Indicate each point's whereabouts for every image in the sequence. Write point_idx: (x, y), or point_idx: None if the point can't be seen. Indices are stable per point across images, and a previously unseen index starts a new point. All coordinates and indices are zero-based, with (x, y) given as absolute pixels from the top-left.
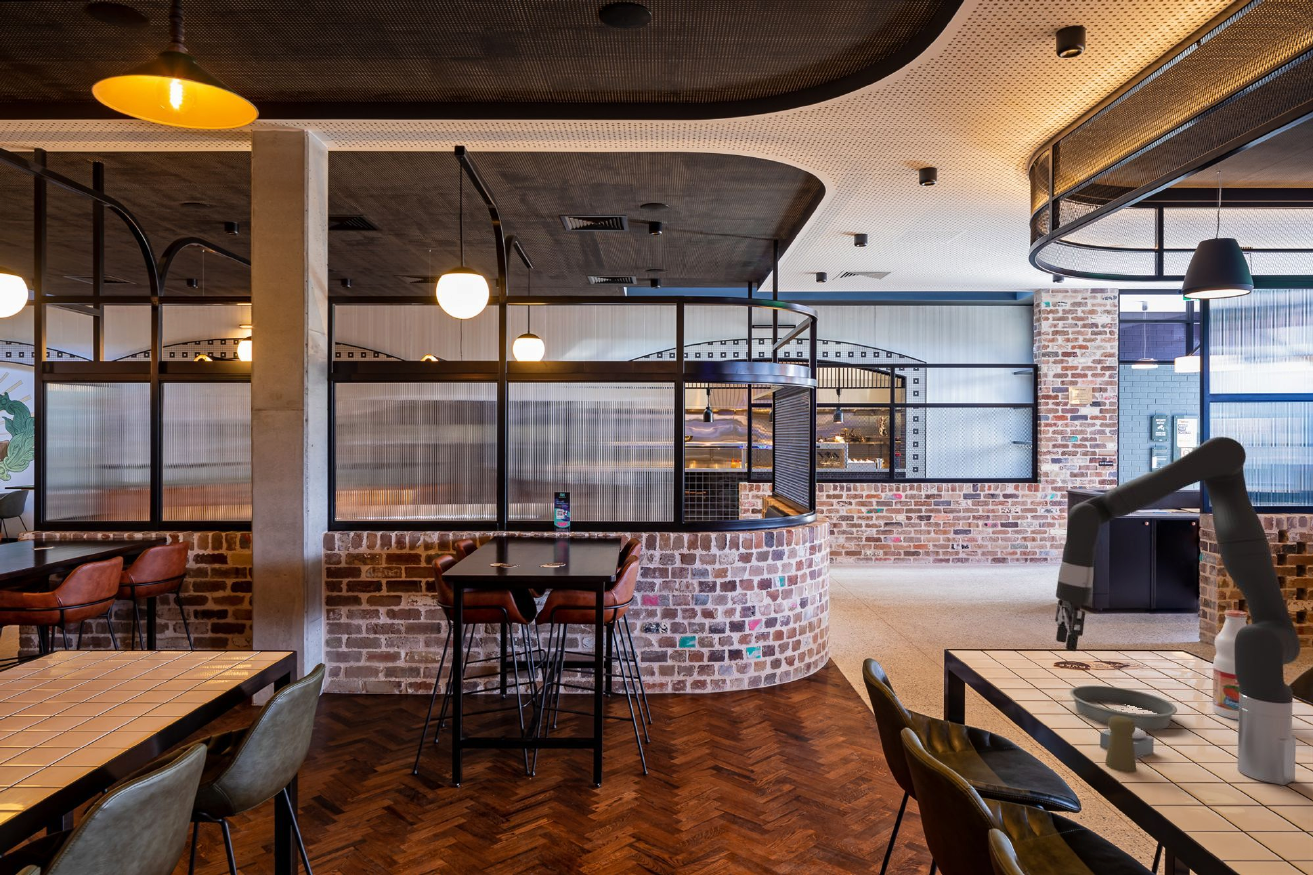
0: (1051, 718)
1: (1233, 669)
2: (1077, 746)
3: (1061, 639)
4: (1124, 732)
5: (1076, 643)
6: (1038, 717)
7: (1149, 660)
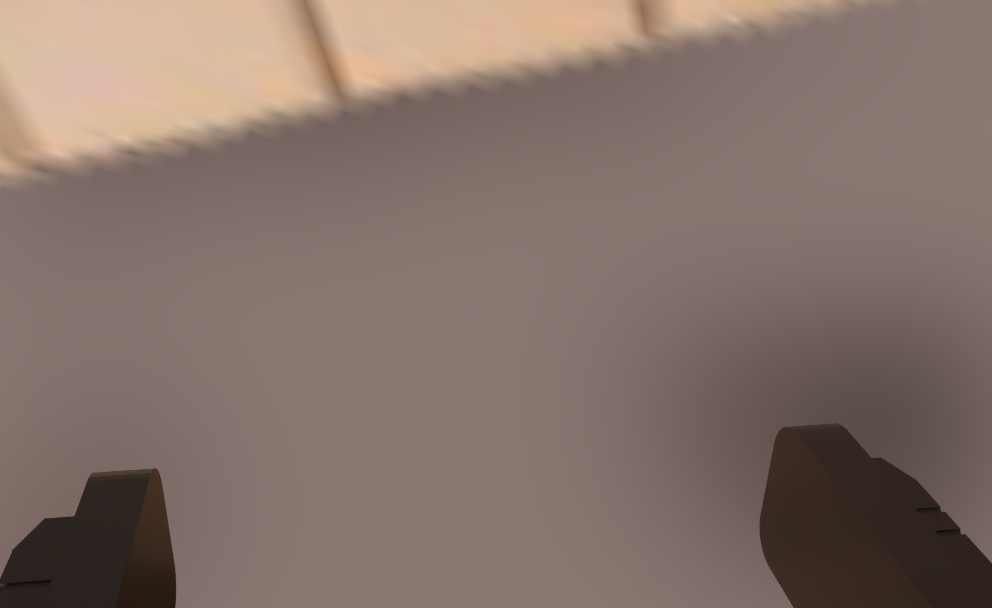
0: (79, 34)
1: None
2: (685, 9)
3: (163, 563)
4: None
5: (906, 515)
6: (106, 133)
7: None
